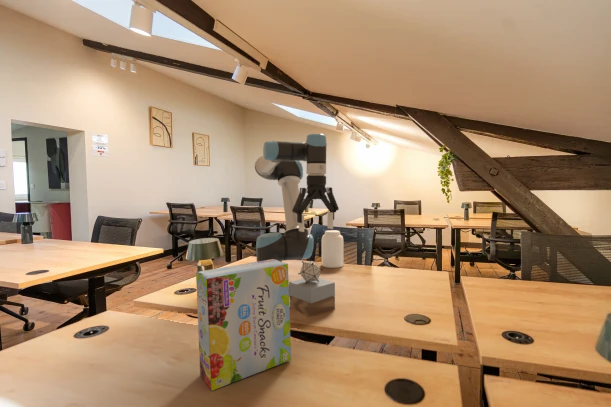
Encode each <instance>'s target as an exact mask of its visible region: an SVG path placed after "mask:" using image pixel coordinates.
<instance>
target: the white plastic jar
mask: <svg viewBox="0 0 611 407" xmlns="http://www.w3.org/2000/svg"><path fill="white" fill-rule="evenodd" d="M321 266H322V267H324V268H330V269H336V268H337V269H338V268H342V267H343V266H344V236H343V235H341V231H340V230H336V229H329V230H325V231H324V234H323V235H322V236H321Z"/></svg>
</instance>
